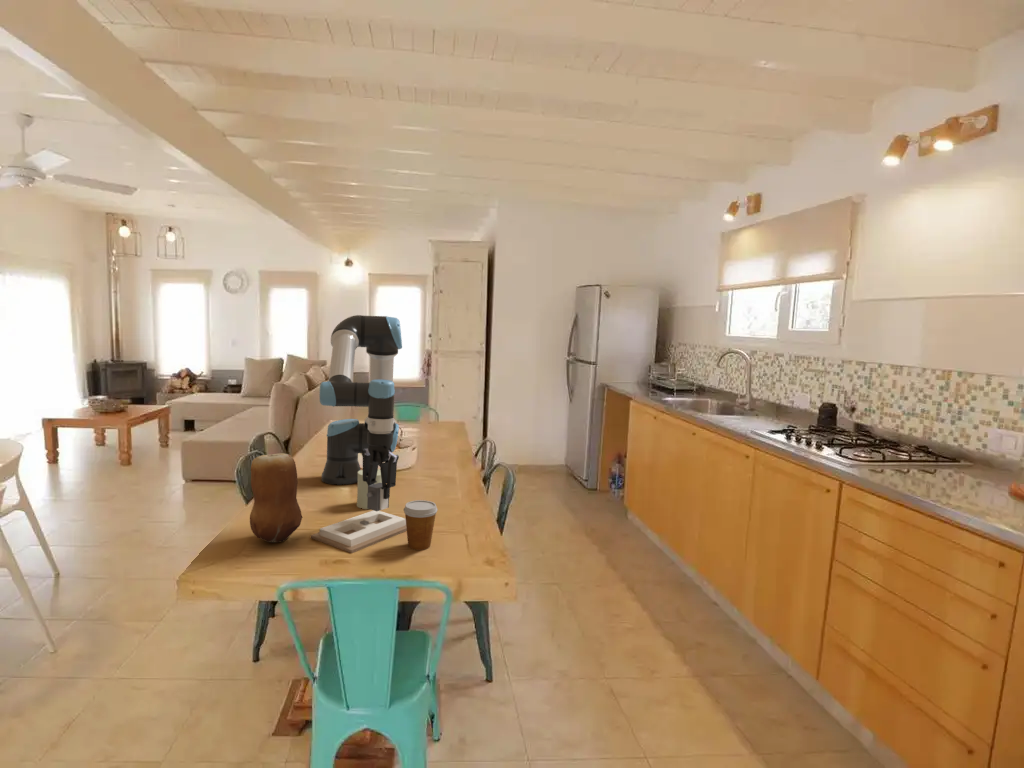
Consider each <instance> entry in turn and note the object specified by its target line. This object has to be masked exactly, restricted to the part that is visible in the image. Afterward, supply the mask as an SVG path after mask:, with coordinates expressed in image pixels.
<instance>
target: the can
mask: <svg viewBox="0 0 1024 768" xmlns="http://www.w3.org/2000/svg"><path fill="white" fill-rule="evenodd" d="M376 481H377V482H376V483H374V484H377V483H382V479H381V470H380V468H378V471H377V476H376ZM356 492H357V493H356V495H357V497H356V498H357V500H356V507H357V508H358V509H361V508H362V510H368V509H367V501H368V497H367V493H368V484H367V482H365V481H363V469H361V470H360V471H358V482H357V491H356Z"/></svg>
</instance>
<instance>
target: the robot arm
mask: <svg viewBox="0 0 1024 768" xmlns="http://www.w3.org/2000/svg"><path fill="white" fill-rule="evenodd" d="M402 339H403V338H402V331H401V323H400V319H398V318H397V317H392V316H388V315H360V314H357V315H355V314H354V315H351V316H348V317H346V318H345V319H343V320H342V321H340V322H339V323H338V324H337V325H336V326H335V327H334V329H333V331H332V333H331V335H330V345H331V347H332V351H331V359H330V366H329V373H328V380H327V381H322V382H320V385H319V394H318V395H319V403H320V405H321V406H325V407H326V406H327V407H328V406H329V407H333V408H334V407H361V408H362V407H363V408H364V407H366V408H368V409H367V410H368V411H367V412H368V413H367V414H368V415H367V417H366V418H365V419H364V423H362V422H360V421H359V419H356V418H345V419H339V420H334V421H332V422H330V423H329V424H328V425H327V430H326V431H327V433H326V438H327V439H326V441H327V442H326V445H327V446H326V461H325V465H324V468H323V471H322V472H321V481H322V483H324V482H325V484H328V485H334V484H337V485H338V486H343V485H344V484H346V485H352V484H356V483H357V484H358V471H360V470H363V481H365V482H367V484H368V486H370V485H373V484H374V483H376V482H377V481H376V476H377V471H378V469H380V470H381V479H382V487H381V488H380V510H379V511H382V510H386V509H388V508H389V507H388V498H389V499H390V493H391V488H393V487H396V483H397V482H396V481H397V468H398V460H399V455H398V454H395V453H394V451H396V448H397V444H398V437H399V430H400V425H399V424H398V423H396V419H395V418H394V412H395V411H394V409H395V407H394V406H395V393H396V391H395V382H394V363H395V362H394V359H395V357H396V356H397V355H398V354H399V350H401V349H402V348H403V341H402ZM358 348H365V349H366V350H365V352H366V354H367V355H368V356H369V358H370V359H369V382H354V371H355V360H356V359H355V357H356V356H355V355H356V350H357V349H358ZM359 454H361V456H362V457H361V458H362V469H361V466H360V462H359ZM342 484H343V485H342ZM337 485H336V486H337Z"/></svg>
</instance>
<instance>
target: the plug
mask: <svg viewBox="0 0 1024 768" xmlns="http://www.w3.org/2000/svg"><path fill="white" fill-rule="evenodd" d="M381 487H382V483H377V484H373V485H370V486H368V493H367V497H368V501H367V509H366V510H371V511H373V510H374V511H381V510H380V488H381ZM389 507H390V497H389V498H388V508H389Z"/></svg>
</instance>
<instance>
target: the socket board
mask: <svg viewBox="0 0 1024 768" xmlns="http://www.w3.org/2000/svg"><path fill="white" fill-rule="evenodd" d="M405 532H407V528H406V517H401V516H398V515H395V514H391V513H388V512H385V511H382V510H379V511H374V510H371V511H368V512H364V513H361V514H359V515H356V516H353V517H350V518H347V519H344V520H341V521H338V522H335V523H332V524H329V525H327V526H323V527H320V528H319V532H316V533H313V534H310V539H312V540H316V541H318V542H321V543H323V544H326V545H329V546H331V547H334V548H337V549H339V550H342V551H345V552H348V553H350V554H353V553H354V554H355V553H356V552H358V551H360V550H363V549H365V548H368V547H370V546H374V545H376V544H378V543H380V542H383V541H385V540H387V539H390V538H393V537H395V536H397V535H400V534H402V533H405Z"/></svg>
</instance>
